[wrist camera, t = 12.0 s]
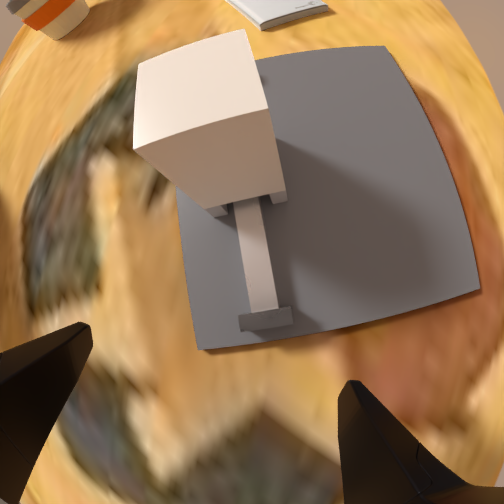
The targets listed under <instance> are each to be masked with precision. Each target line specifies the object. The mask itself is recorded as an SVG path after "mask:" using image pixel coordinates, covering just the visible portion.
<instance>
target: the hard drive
mask: <svg viewBox="0 0 504 504" xmlns="http://www.w3.org/2000/svg"><path fill="white" fill-rule="evenodd" d="M225 1H226V2H227V3H229V4H230V5H231V6H232V7H234V8H235V9H236V10H237V11H239V12H240V13H241V14H242V15H243V16H244V17H246V18H247V19H248V20H249V21H250V22H251V23H253V24H254V25H255V26H256V27H257V28H258V29H259V30H260V31H263V30H265V29H268V28H271V27H274V26H277V25H280V24H283V23H286V22H289V21H293V20H296V19H299V18H303V17H306V16H310V15H314V14H318V13H322V12H326V11H328V5H327V4H325V3H324V2H322V1H321V0H225Z"/></svg>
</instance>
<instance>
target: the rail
mask: <svg viewBox="0 0 504 504" xmlns="http://www.w3.org/2000/svg"><path fill="white" fill-rule="evenodd" d="M233 206H234V212H235V218H236V224H237V230H238V236H239V242H240V248H241V254H242V260H243V266H244V272H245V278H246V284H247V289H248V295H249V301H250V307H251V312H249V313H243V314H240V315H238V321H239V326H240V332H247V331H254V330H261V329H267V328H273V327H279V326H285V325H290V324H293V323H294V316H293V310H292V305H289V306H284V307H280V302H279V296H278V291H277V285H276V280H275V274H274V269H273V263H272V258H271V252H270V247H269V242H268V236H267V231H266V226H265V221H264V215H263V210H262V205H261V200H260V196H257V197H253V198H249V199H244V200H240V201H236V202H233Z"/></svg>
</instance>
